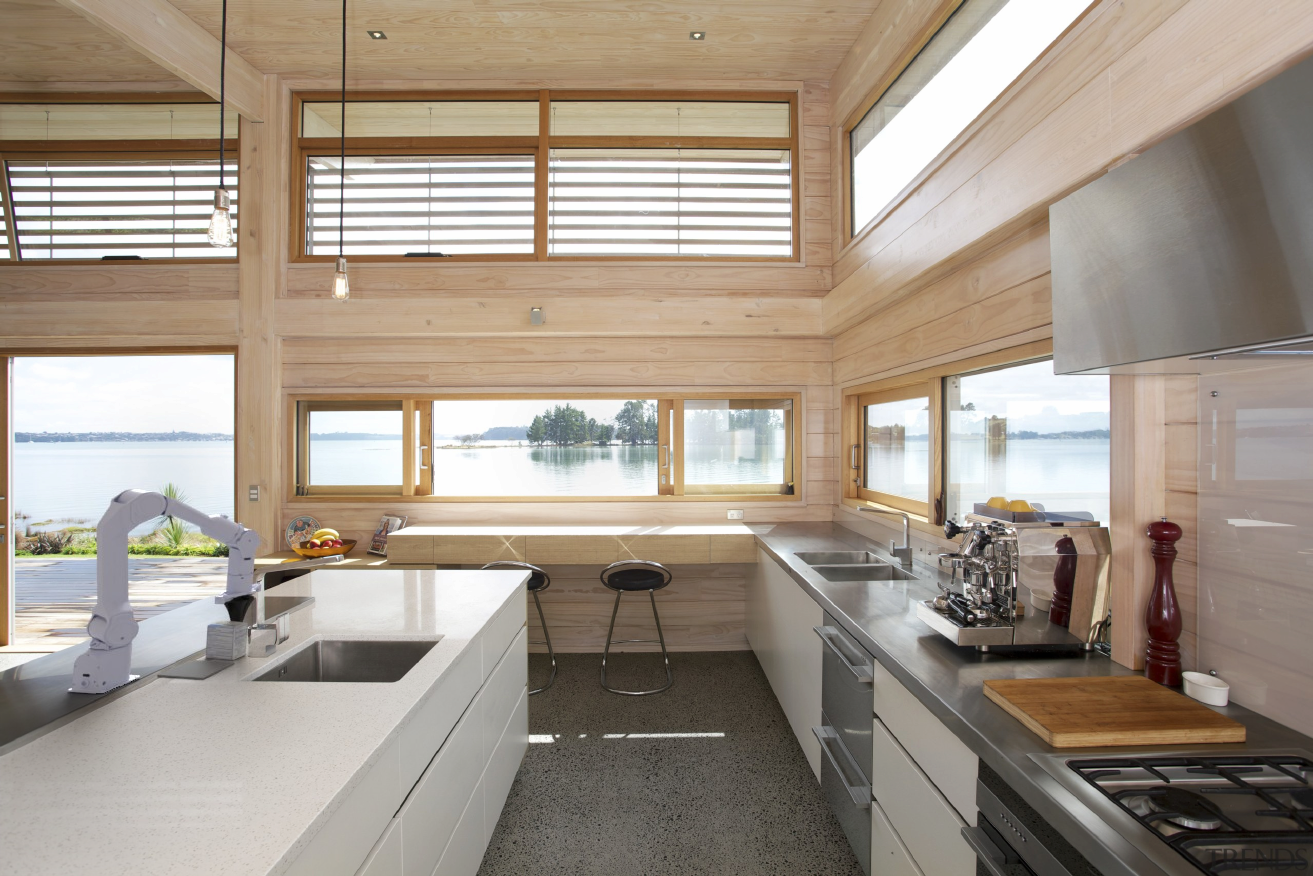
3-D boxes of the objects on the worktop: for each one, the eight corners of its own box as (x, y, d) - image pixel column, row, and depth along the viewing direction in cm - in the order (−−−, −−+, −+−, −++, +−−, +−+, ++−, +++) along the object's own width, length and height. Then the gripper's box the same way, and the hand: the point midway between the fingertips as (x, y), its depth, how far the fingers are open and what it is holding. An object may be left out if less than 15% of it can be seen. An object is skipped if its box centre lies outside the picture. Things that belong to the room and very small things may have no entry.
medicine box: (246, 655, 156) (248, 622, 156) (232, 661, 151) (235, 627, 151) (218, 652, 157) (221, 619, 157) (204, 658, 152) (206, 624, 152)
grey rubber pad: (203, 679, 139) (203, 677, 139) (157, 676, 140) (157, 674, 140) (234, 664, 149) (234, 662, 149) (191, 661, 150) (191, 659, 150)
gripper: (235, 580, 150) (231, 634, 150) (273, 568, 165) (269, 617, 164) (208, 578, 150) (204, 632, 150) (248, 567, 165) (244, 616, 165)
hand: (236, 624), depth 157 cm, fingers closed
